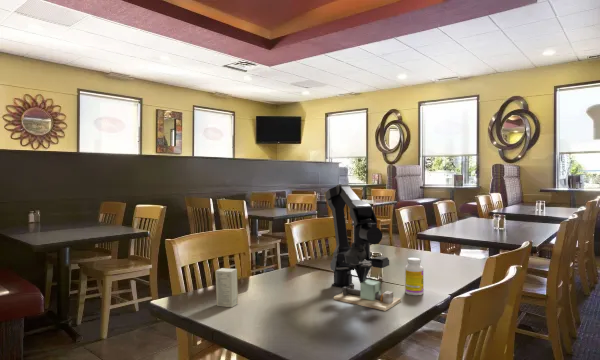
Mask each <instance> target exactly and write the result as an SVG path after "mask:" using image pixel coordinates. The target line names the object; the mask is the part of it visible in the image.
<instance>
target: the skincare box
mask: <svg viewBox="0 0 600 360" xmlns="http://www.w3.org/2000/svg"><path fill="white" fill-rule="evenodd" d="M215 289H216V293H215V294H216V295H215V297H216V306H217V307H227V308H233V307H235V306H236V305H238V303H239V299H238V298H239V297H238V296H239V295H238V294H239V293H238V269H237V268H227V267H221V268H218V269H217V270H215Z"/></svg>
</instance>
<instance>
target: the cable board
mask: <svg viewBox="0 0 600 360" xmlns="http://www.w3.org/2000/svg"><path fill="white" fill-rule="evenodd" d="M333 300H335V301H340V302H344V303H350V304H354V305H359V306H363V307H367V308H372V309H376V310H380V311H384V312H386V311H387V310H390V309H391V308H392V307H395V305H398V304H399V303H401V301H402V298H399V297H395V296H394V291H390V290H386V291H385V292H383V293H381V294H376V293H375V300H374V301H372V300H368V299H363V298H360V289H356V288H355V284H354V283H353V284H350V286H349V287H342V291H341V293H339V294H338V293H337V294H336V295H334V296H333Z"/></svg>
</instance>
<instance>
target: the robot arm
mask: <svg viewBox="0 0 600 360" xmlns="http://www.w3.org/2000/svg"><path fill="white" fill-rule="evenodd" d="M351 186H352V185H351V184H349V183H348V184H347V183H342V184H337V185H336V186H334V187H332V188H329V189H328V190H326V192H325V199H326V201H327V206H328V207H329V209H331V211H332V216H333V218H332V219H333V225H334V227H333V228H334V233H335V234H334V235H335V243H336V246H335V248H334V251H333V253H332V255H333V257H332V259H331V261H330V264H329V266H330V270H331V271H333V283H331V286H332V287H333V286H334V287H338V288H343V287H348V288H350V284H354V283H353V273H352V271H355V273H356V274H357V275H356V276H357V278H358V281H359V284H360V283H361V282H363V281H366V280H367V276H368V274H369V271H370V270H371V269H372V267H373V268H377V269H383V268H386V267H388V266H390V260H389V258H388V257H387V256H379V255H378V256H376V257H372V255H373V254H372V253H371V246H372V245H377V244H379V243H380V242H381V241H382V239H383V232H382V230H381V229H380V228H379V227H378V218H377V217H376V213H375V211H374V209H373V207H372V204H370V203H368V202H367V201H364V200H361V198H359V196H358V195H357V194H356V193H355V191H354V190H353V189H352V187H351ZM346 206H347V207H348V208H349V212H348V213H349V216H350V219H351V220H352V224H351V225H352V226H353V242H352V243H351V245H350V244H349V240H348V238H349V237H348V230H347V222H346V215H345V208H346Z"/></svg>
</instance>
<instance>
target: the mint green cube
mask: <svg viewBox="0 0 600 360" xmlns="http://www.w3.org/2000/svg"><path fill="white" fill-rule="evenodd" d="M381 284H382V282H381V281H378V280H374V279H373V280H372V279H365V281H363V282H361V283H360V282H359V286H360V289H359V290H360V298H363V299H368V300H372V301H374V300H375V293H376V294H381V295H382V292H381V289H382V287H381Z"/></svg>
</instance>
